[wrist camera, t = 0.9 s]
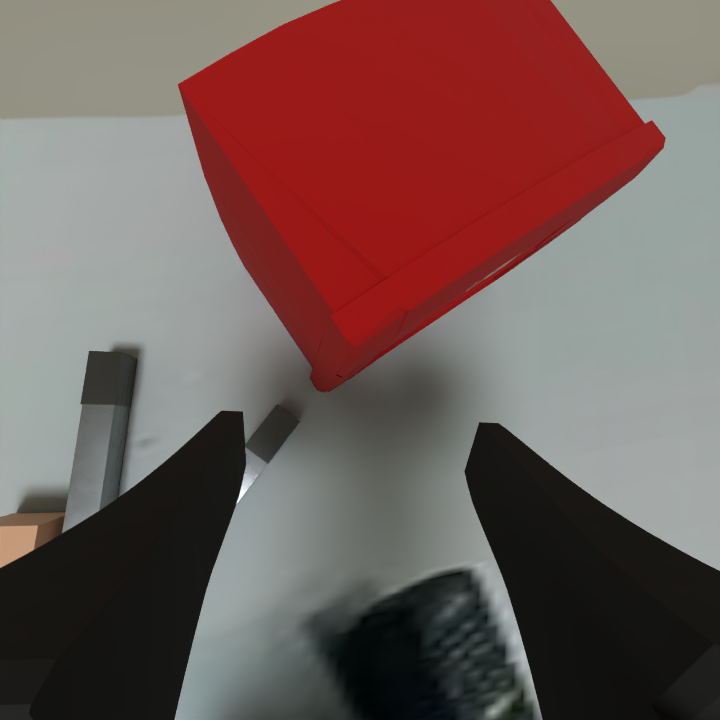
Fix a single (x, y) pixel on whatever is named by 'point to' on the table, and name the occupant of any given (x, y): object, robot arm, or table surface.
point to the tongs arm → (266, 444)
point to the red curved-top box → (404, 160)
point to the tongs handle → (100, 435)
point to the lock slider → (27, 533)
